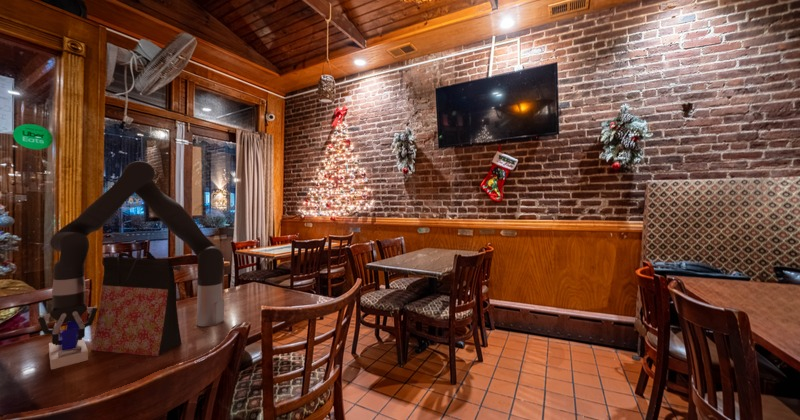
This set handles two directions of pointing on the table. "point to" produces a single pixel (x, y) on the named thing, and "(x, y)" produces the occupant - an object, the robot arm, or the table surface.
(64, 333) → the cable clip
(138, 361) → the table surface
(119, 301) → the gift bag
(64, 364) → the white slotted block
